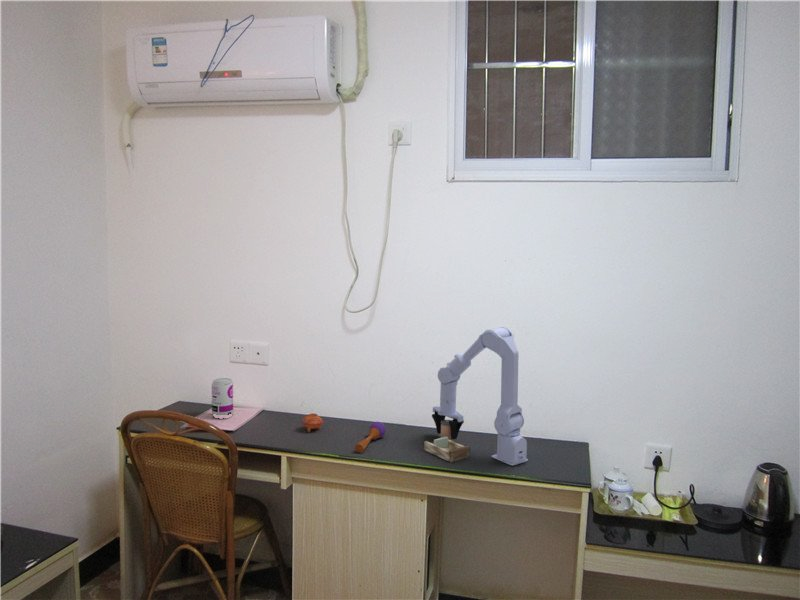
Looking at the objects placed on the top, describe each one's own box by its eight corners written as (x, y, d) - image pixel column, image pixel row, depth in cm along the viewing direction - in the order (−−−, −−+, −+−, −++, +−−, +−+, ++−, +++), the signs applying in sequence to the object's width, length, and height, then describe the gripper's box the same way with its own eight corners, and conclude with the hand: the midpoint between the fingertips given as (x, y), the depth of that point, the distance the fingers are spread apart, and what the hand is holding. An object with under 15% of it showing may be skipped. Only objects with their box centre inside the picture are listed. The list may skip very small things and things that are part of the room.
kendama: (349, 440, 199) (371, 419, 217) (352, 457, 199) (374, 435, 218) (365, 440, 196) (386, 418, 215) (368, 456, 197) (389, 434, 216)
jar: (456, 440, 212) (456, 422, 211) (446, 443, 209) (446, 424, 208) (447, 437, 216) (447, 418, 215) (437, 439, 213) (438, 421, 212)
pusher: (447, 446, 203) (448, 437, 202) (435, 449, 199) (435, 440, 199) (446, 445, 204) (446, 436, 203) (433, 449, 200) (433, 439, 200)
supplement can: (236, 414, 238) (236, 378, 236) (228, 420, 230) (228, 383, 228) (217, 413, 239) (216, 377, 237) (208, 419, 230) (208, 382, 229)
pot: (296, 429, 220) (299, 411, 220) (311, 429, 225) (314, 412, 226) (309, 433, 214) (312, 415, 215) (325, 434, 220) (328, 416, 221)
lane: (469, 457, 196) (469, 446, 196) (451, 462, 191) (451, 451, 191) (442, 445, 207) (442, 435, 207) (424, 449, 202) (424, 439, 202)
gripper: (426, 396, 214) (425, 432, 216) (453, 405, 203) (452, 443, 204) (441, 393, 218) (440, 429, 220) (468, 402, 207) (466, 440, 208)
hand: (447, 435), depth 212 cm, fingers open, 7 cm apart
